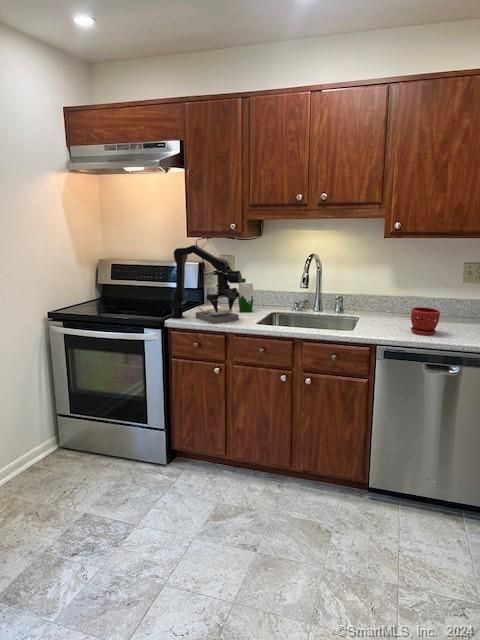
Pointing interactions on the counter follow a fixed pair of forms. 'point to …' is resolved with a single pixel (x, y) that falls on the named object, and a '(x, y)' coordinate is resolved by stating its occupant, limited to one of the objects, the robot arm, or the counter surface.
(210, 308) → the plate
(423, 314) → the plant pot
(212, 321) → the rocker switch panel
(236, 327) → the counter surface
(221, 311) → the green rocker
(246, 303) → the milk carton
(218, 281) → the robot arm
